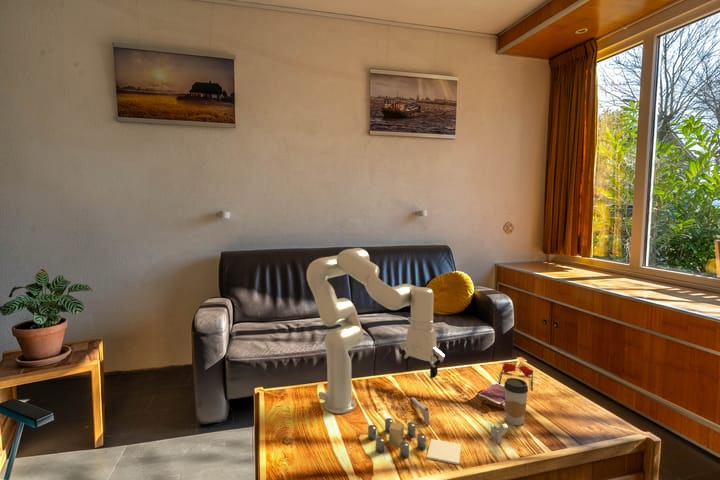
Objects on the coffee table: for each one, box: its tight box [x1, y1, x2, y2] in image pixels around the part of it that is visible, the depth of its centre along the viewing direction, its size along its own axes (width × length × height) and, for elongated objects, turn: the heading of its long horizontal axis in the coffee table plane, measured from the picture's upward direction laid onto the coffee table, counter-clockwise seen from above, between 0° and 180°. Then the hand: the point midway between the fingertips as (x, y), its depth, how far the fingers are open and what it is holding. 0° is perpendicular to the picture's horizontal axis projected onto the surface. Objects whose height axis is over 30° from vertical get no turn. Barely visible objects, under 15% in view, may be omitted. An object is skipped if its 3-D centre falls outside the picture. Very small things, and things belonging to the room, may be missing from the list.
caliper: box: [410, 396, 430, 426], centre depth 154 cm, size 20×1×6 cm, turn 9°
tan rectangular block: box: [388, 421, 405, 448], centre depth 133 cm, size 4×4×6 cm
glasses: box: [498, 363, 534, 392], centre depth 181 cm, size 14×16×5 cm
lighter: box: [490, 423, 509, 445], centre depth 133 cm, size 7×2×8 cm, turn 16°
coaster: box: [426, 438, 462, 465], centre depth 128 cm, size 10×10×1 cm
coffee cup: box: [503, 377, 529, 426], centre depth 146 cm, size 8×8×15 cm
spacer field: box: [367, 417, 427, 460], centre depth 133 cm, size 20×15×4 cm
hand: (421, 373), depth 135 cm, fingers open, 9 cm apart
